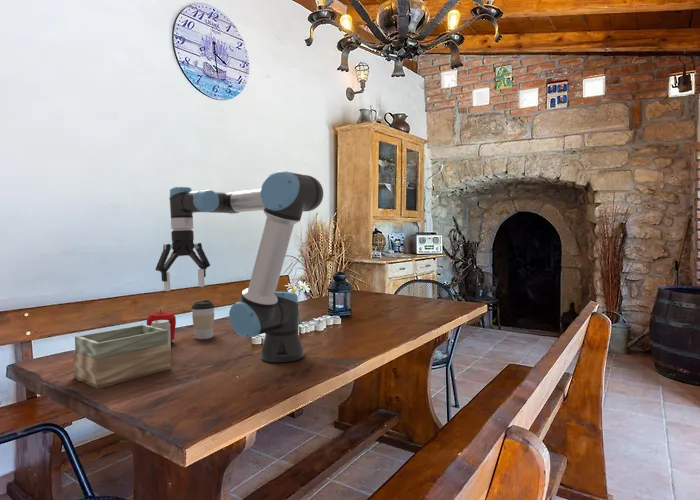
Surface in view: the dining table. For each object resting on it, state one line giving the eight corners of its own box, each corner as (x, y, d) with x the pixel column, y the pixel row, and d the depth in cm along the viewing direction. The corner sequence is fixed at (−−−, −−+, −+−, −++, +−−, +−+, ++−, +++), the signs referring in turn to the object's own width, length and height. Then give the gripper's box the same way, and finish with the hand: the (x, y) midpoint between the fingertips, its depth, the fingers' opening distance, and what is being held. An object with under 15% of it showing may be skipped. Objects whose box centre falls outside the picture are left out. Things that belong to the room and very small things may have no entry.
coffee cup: (208, 341, 178) (207, 303, 178) (187, 340, 180) (186, 303, 179) (219, 335, 187) (218, 300, 186) (199, 335, 189) (198, 299, 188)
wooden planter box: (171, 369, 142) (169, 329, 141) (97, 388, 125) (95, 344, 124) (145, 360, 152) (144, 324, 151) (73, 377, 134) (72, 336, 134)
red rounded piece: (158, 349, 166) (156, 313, 166) (141, 346, 172) (140, 310, 171) (182, 343, 175) (181, 308, 175) (165, 340, 181) (164, 306, 180)
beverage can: (155, 352, 162) (154, 319, 161) (173, 352, 162) (172, 319, 162) (148, 357, 155) (147, 323, 155) (167, 356, 156) (166, 322, 156)
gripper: (206, 230, 174) (208, 284, 175) (143, 230, 155) (146, 292, 155) (218, 229, 169) (220, 285, 170) (154, 230, 150) (157, 293, 151)
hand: (185, 288), depth 163 cm, fingers open, 13 cm apart
